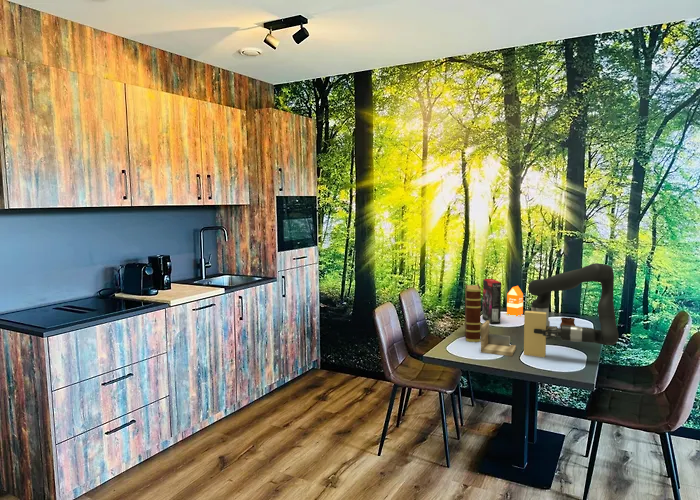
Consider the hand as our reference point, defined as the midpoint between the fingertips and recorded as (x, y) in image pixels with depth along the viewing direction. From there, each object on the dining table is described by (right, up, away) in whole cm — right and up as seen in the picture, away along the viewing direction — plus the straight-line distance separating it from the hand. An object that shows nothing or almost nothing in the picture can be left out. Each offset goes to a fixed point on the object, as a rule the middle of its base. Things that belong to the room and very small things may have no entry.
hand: (534, 329), depth 242 cm
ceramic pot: (+40, -9, +52) cm, 66 cm away
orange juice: (+22, -5, +92) cm, 95 cm away
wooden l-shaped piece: (-16, -12, +9) cm, 22 cm away
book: (0, -13, +1) cm, 13 cm away
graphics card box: (0, -7, +74) cm, 74 cm away
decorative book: (-22, -10, +37) cm, 44 cm away
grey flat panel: (-14, -10, +13) cm, 22 cm away
